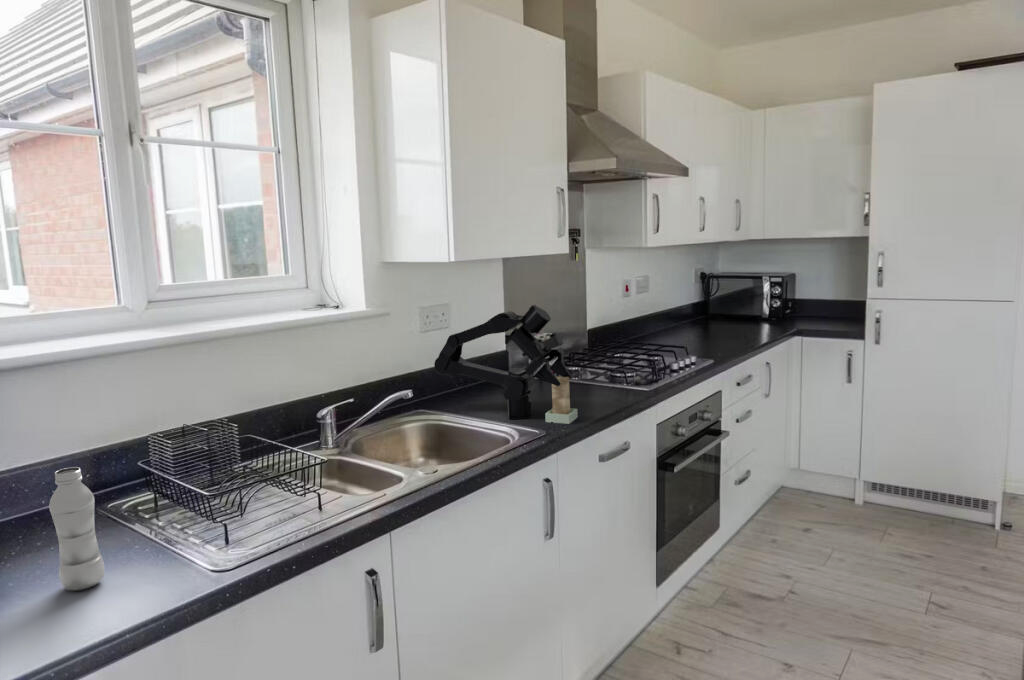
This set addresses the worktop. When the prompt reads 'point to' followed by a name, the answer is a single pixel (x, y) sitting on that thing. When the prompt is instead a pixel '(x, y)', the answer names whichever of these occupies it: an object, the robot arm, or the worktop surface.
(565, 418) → the open square box
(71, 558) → the plastic bottle
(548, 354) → the robot arm
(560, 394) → the tan wooden block
